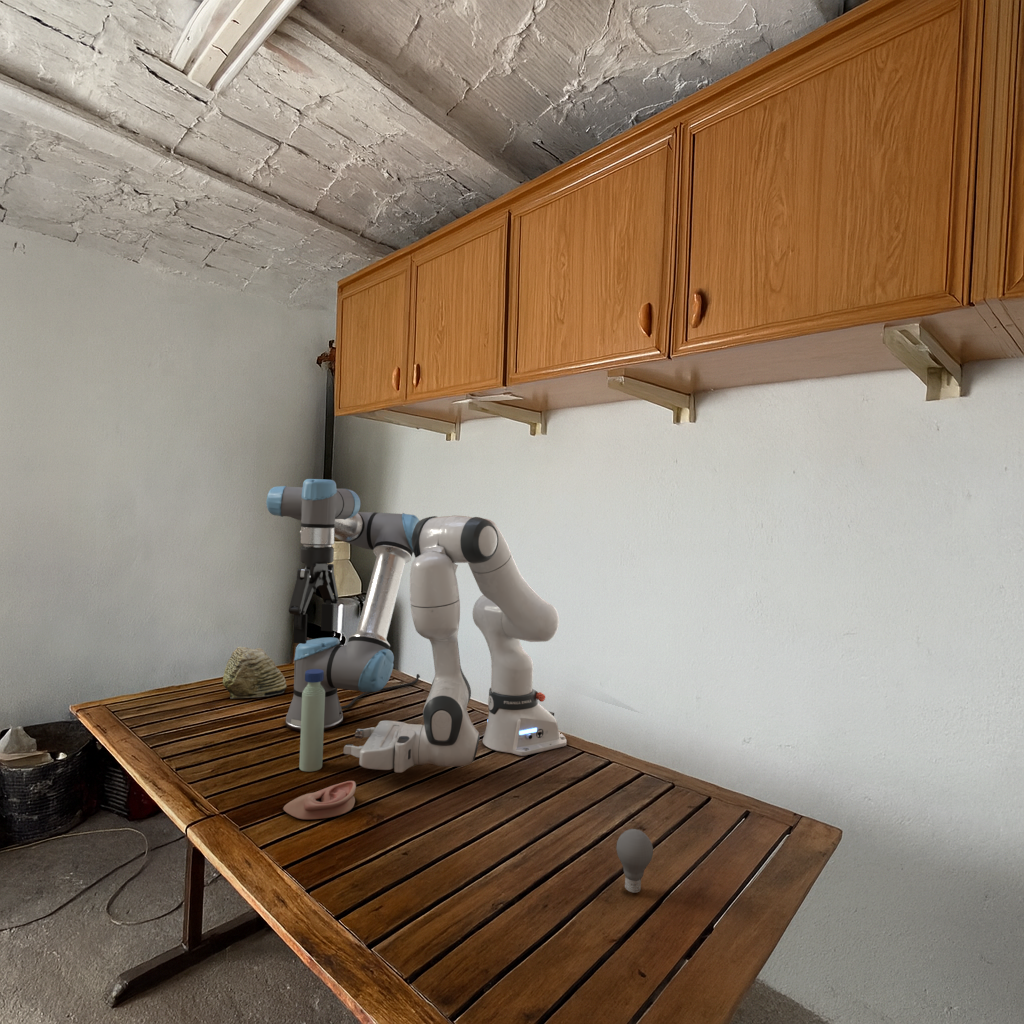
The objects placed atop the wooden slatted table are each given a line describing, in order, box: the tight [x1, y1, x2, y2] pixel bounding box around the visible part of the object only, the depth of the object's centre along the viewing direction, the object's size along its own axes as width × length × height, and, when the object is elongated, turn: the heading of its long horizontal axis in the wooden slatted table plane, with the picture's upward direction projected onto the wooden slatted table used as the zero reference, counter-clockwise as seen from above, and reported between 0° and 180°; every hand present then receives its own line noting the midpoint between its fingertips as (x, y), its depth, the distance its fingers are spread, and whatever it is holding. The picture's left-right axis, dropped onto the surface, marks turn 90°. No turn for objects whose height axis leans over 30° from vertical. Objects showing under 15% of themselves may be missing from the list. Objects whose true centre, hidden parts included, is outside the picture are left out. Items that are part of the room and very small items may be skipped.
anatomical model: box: [282, 780, 357, 820], centre depth 129 cm, size 13×4×12 cm
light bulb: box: [615, 828, 654, 894], centre depth 106 cm, size 6×6×10 cm
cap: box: [305, 669, 324, 683], centre depth 148 cm, size 4×4×2 cm
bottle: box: [298, 682, 325, 773], centre depth 148 cm, size 5×5×22 cm
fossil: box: [222, 646, 288, 699], centre depth 198 cm, size 9×18×15 cm, turn 132°
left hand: (313, 636), depth 147 cm, fingers open, 13 cm apart
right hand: (350, 740), depth 148 cm, fingers open, 8 cm apart
